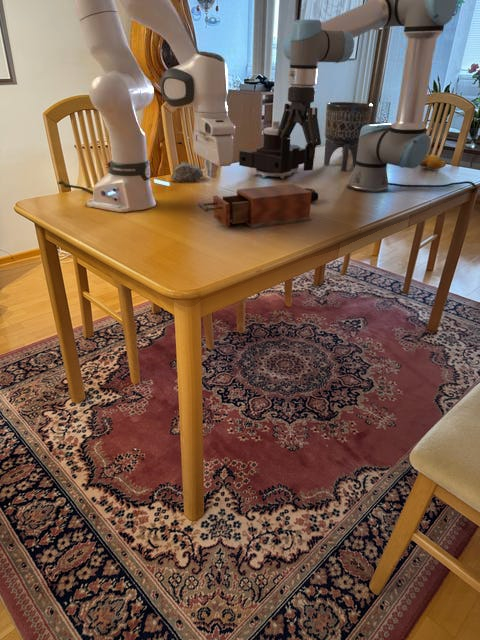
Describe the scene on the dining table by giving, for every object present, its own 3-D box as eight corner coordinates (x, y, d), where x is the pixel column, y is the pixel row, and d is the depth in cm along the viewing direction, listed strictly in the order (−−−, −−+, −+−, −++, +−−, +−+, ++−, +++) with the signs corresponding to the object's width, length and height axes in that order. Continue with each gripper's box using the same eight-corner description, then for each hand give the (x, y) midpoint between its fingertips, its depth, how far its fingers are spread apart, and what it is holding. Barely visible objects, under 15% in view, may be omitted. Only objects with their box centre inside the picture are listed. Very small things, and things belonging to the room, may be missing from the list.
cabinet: (251, 227, 133) (252, 198, 129) (236, 217, 142) (236, 189, 138) (309, 219, 141) (311, 192, 137) (291, 210, 149) (293, 183, 145)
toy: (420, 162, 205) (414, 155, 217) (422, 176, 207) (416, 168, 220) (446, 154, 201) (438, 147, 214) (448, 168, 204) (440, 161, 217)
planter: (313, 167, 208) (319, 103, 195) (331, 160, 222) (338, 101, 209) (353, 173, 199) (362, 107, 185) (369, 166, 213) (379, 104, 199)
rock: (196, 175, 189) (195, 159, 185) (208, 179, 183) (208, 163, 180) (168, 180, 181) (167, 163, 178) (181, 184, 176) (180, 167, 172)
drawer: (207, 229, 128) (206, 206, 125) (195, 219, 136) (194, 197, 132) (282, 219, 137) (283, 197, 134) (267, 211, 145) (268, 190, 142)
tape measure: (298, 204, 156) (299, 193, 154) (293, 198, 161) (294, 187, 159) (317, 203, 156) (319, 192, 155) (312, 198, 162) (313, 187, 160)
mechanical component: (240, 120, 182) (283, 115, 202) (239, 174, 192) (280, 164, 212) (283, 126, 170) (325, 120, 190) (280, 183, 180) (320, 171, 200)
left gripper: (186, 119, 126) (188, 170, 133) (214, 128, 110) (215, 186, 117) (207, 118, 129) (208, 168, 136) (237, 127, 113) (237, 184, 120)
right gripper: (268, 83, 134) (265, 158, 144) (315, 89, 114) (307, 175, 125) (290, 83, 137) (285, 157, 147) (340, 89, 117) (330, 173, 128)
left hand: (211, 176), depth 126 cm, fingers closed
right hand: (295, 165), depth 136 cm, fingers open, 13 cm apart
